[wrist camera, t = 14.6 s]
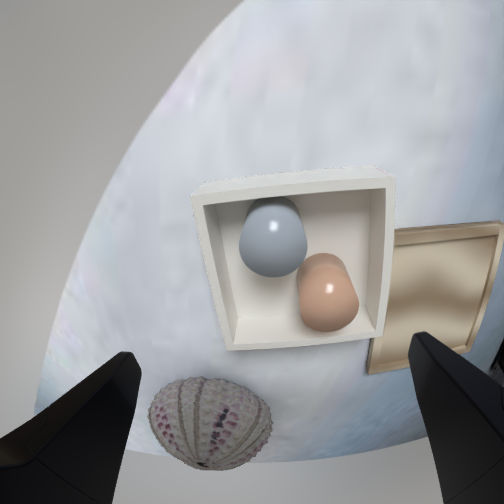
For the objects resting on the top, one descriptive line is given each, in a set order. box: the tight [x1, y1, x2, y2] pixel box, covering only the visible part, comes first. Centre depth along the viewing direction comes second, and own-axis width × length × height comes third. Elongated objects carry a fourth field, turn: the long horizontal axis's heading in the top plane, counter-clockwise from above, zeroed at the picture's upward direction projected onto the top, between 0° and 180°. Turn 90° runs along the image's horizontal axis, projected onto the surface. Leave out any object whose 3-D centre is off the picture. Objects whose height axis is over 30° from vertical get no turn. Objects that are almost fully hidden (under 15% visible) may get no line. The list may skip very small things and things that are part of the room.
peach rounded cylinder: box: [297, 253, 359, 332], centre depth 19 cm, size 4×4×4 cm
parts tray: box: [366, 221, 504, 374], centre depth 21 cm, size 14×12×1 cm
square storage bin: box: [190, 166, 395, 351], centre depth 19 cm, size 11×11×4 cm
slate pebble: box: [239, 196, 308, 277], centre depth 17 cm, size 4×4×4 cm
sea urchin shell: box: [147, 376, 273, 471], centre depth 26 cm, size 13×14×8 cm
